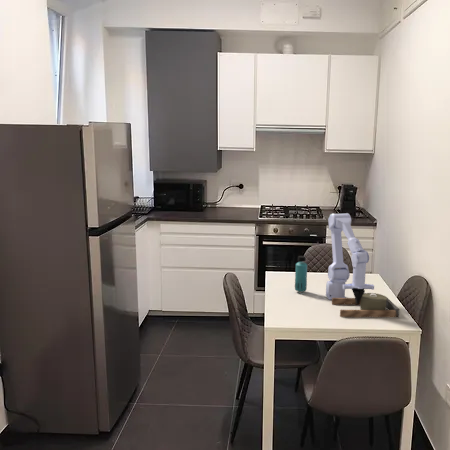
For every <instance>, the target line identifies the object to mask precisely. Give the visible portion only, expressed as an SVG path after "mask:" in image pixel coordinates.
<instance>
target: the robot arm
mask: <svg viewBox="0 0 450 450" xmlns="http://www.w3.org/2000/svg"><path fill="white" fill-rule="evenodd" d="M327 219H328V221H327V222H328V229H329V230H330V238H331V249H332V263H331V264H330V265H329V266H328V272H327V276H328V277H327V278H328V279H329V280H326V282H325V283H326V286H325V296H326V298H327V300H331V301H332V298H347V297H346V290H351V291H352V293H353V296H354V298H355V302H356V304H359V303H360V300H361V297H362V295H363V294H364V293H366V292H365V290H375V285H374V284H371V283H370V284H369V283H366V270H367V268H366V267H367V263H369V262H370V261H369V260H370V256H369V255H370V254H369V252H368V251H367V250H365V248H363V246H362V243H361V241H360V239H359V238H357V237H355V234H354V233H355V232H354V230H353V228H352V217H351V215H350V213H348V212H346V213H330V214H329V217H328V218H327ZM342 232H343V233H344V235H345V237H346V239H347V247H348V249H349V251H350V253H351V256H350V258H351V265H352V282H351V283H347V282H348V280H349V278H350V270H349V266H348V264H346V263H345V261H344V254H343V241H342Z"/></svg>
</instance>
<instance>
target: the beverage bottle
mask: <svg viewBox="0 0 450 450" xmlns="http://www.w3.org/2000/svg"><path fill="white" fill-rule="evenodd" d="M306 259H307V257H306V256H304V255H298V256H297V261H298V262H296V263H295V271H294V289H295V291H297V292H306V291H307V286H308V284H307V283H308V282H307V280H308V263H306V262H305V261H306Z"/></svg>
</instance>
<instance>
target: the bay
mask: <svg viewBox="0 0 450 450" xmlns="http://www.w3.org/2000/svg"><path fill="white" fill-rule="evenodd" d="M331 304H332V305H333V306H334V305H345V306H346V305H347V306H348V305H353V306H354V305H357V306H358V305H360V306H361V300H360V303H359V304H356V302H355V297H346V298H332V300H331ZM399 316H400V308H398V306H397V305H396V304H394V303H393V302H392V300H390V299H389V297H387V301H386V310H360V309H340V310H339V317H341V318H344V317H345V318H399Z"/></svg>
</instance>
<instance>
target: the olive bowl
mask: <svg viewBox="0 0 450 450" xmlns="http://www.w3.org/2000/svg"><path fill="white" fill-rule="evenodd" d="M387 298H388V297H387V296H386V295H383V294H381V293H376V292H375V293H374V292H365V293H364V294H363V295H362V297H361V305H360V309H359V310H387V308H386V301H387Z"/></svg>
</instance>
